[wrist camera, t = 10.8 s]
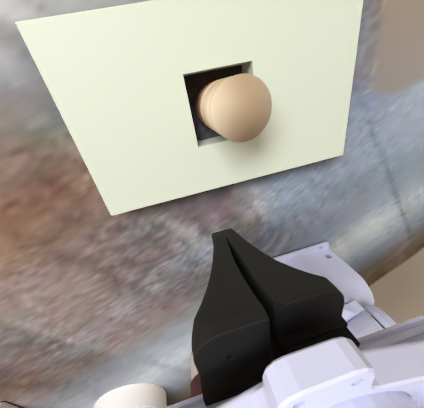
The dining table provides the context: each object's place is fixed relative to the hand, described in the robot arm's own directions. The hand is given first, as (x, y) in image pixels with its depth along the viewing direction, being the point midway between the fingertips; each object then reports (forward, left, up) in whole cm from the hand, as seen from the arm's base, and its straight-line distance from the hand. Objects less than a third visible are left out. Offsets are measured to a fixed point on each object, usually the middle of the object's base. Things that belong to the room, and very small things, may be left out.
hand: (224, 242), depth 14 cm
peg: (-3, -7, -10) cm, 13 cm away
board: (-3, -7, -10) cm, 13 cm away
